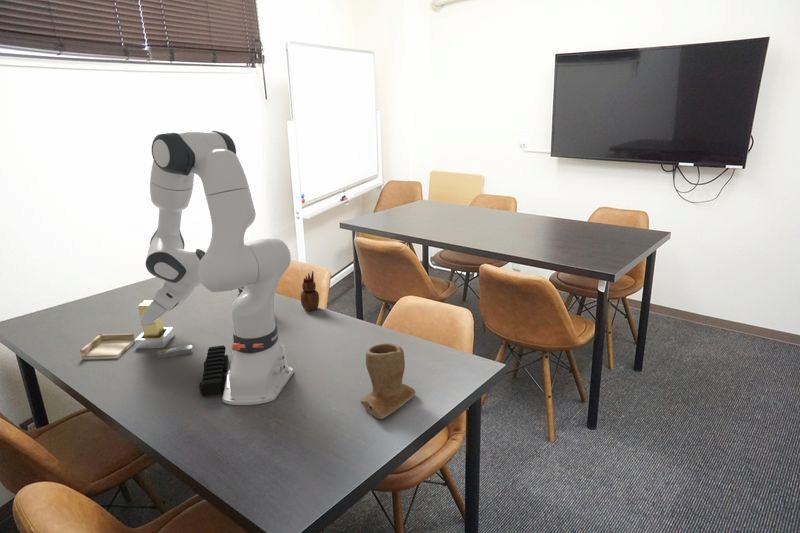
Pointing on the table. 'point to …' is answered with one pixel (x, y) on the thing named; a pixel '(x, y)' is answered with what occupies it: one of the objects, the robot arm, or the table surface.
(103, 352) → the rack plate
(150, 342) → the socket collar
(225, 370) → the rail mount
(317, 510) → the table surface
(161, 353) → the gray rectangular bar
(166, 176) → the robot arm
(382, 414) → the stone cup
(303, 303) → the wooden figurine
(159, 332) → the yellow wooden block
